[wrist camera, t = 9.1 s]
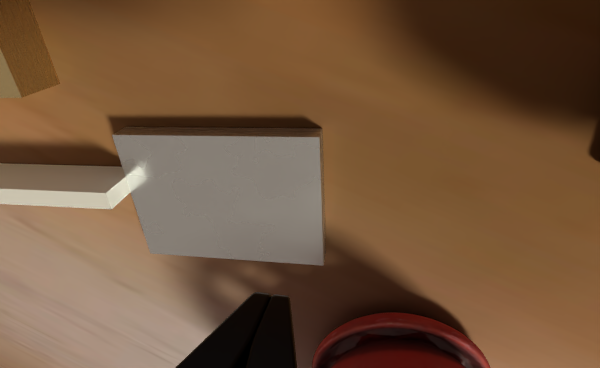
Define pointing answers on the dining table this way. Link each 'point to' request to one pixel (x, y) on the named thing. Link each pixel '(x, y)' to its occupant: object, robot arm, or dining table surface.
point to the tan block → (22, 52)
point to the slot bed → (228, 191)
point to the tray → (62, 185)
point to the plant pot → (397, 344)
